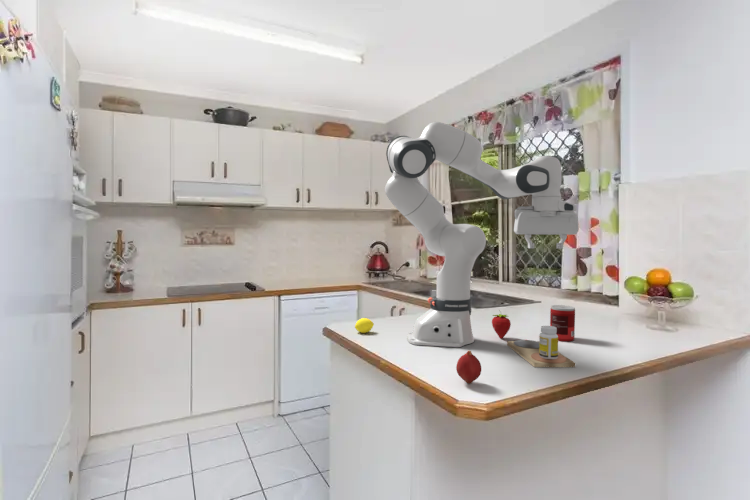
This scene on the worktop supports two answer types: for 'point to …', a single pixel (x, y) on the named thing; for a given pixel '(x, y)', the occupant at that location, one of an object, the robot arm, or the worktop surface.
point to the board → (531, 354)
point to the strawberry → (501, 325)
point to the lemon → (364, 325)
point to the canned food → (563, 321)
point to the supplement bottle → (548, 342)
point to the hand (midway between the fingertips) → (545, 248)
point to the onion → (468, 367)
